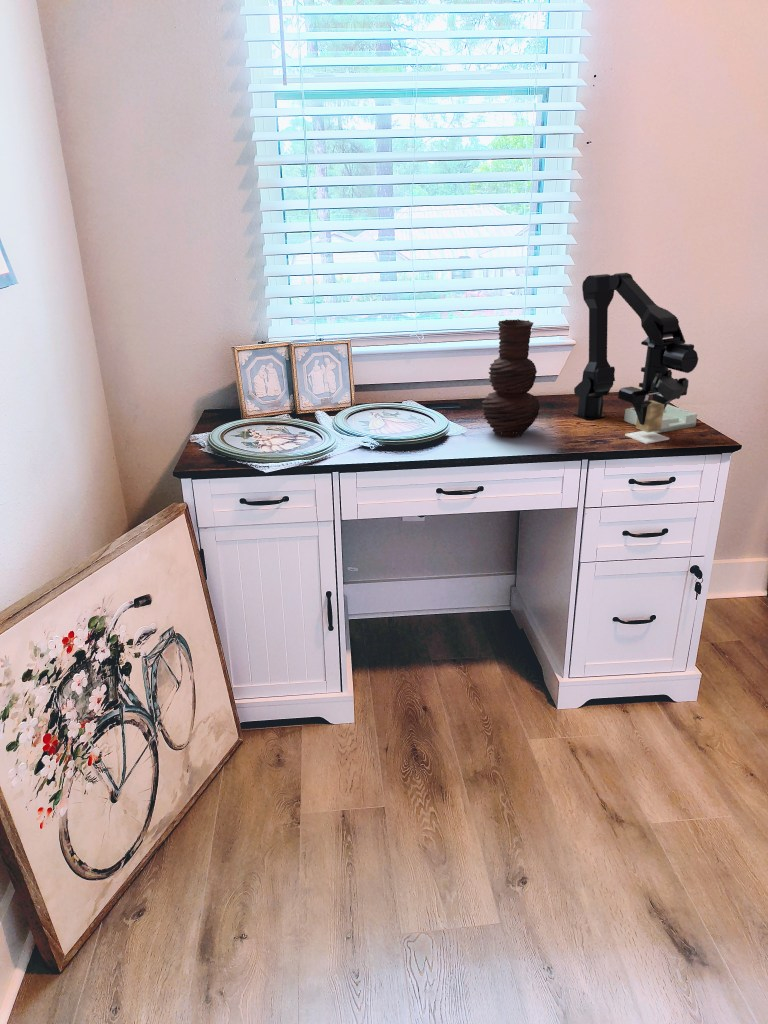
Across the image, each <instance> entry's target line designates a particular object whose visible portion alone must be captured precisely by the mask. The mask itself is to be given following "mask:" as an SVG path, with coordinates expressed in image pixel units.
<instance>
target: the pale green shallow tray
mask: <svg viewBox="0 0 768 1024" xmlns="http://www.w3.org/2000/svg"><path fill="white" fill-rule="evenodd" d="M697 417H698V414H697V413H695V412H692V411H689V410H686V409H683V408H679V407H677V406H674V405H671V404H669V403H668V404H667V406H666V407H665V409H664V411H663V418H662V425H661V430H659V431H654V432H655V433H657V434H660V433H666V432H673V431H676V430H683V429H688V428H693V427H696V425H697ZM623 421H624V422H627V423H629V424H631V425H635V426H636V422H637V414H636V411H635V409H634V407H630V408H625V410H624V418H623Z"/></svg>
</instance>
